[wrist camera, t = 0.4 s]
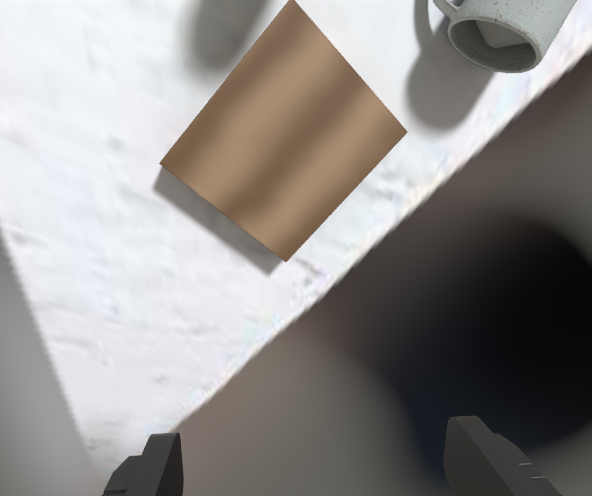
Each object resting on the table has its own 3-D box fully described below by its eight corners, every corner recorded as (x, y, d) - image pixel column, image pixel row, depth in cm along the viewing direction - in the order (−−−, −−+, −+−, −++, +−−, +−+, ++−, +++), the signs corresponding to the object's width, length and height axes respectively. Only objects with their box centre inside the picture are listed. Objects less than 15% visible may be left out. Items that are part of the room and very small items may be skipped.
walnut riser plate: (165, 158, 31) (159, 163, 29) (285, 7, 29) (291, -4, 26) (281, 250, 37) (286, 262, 34) (393, 129, 34) (407, 131, 31)
